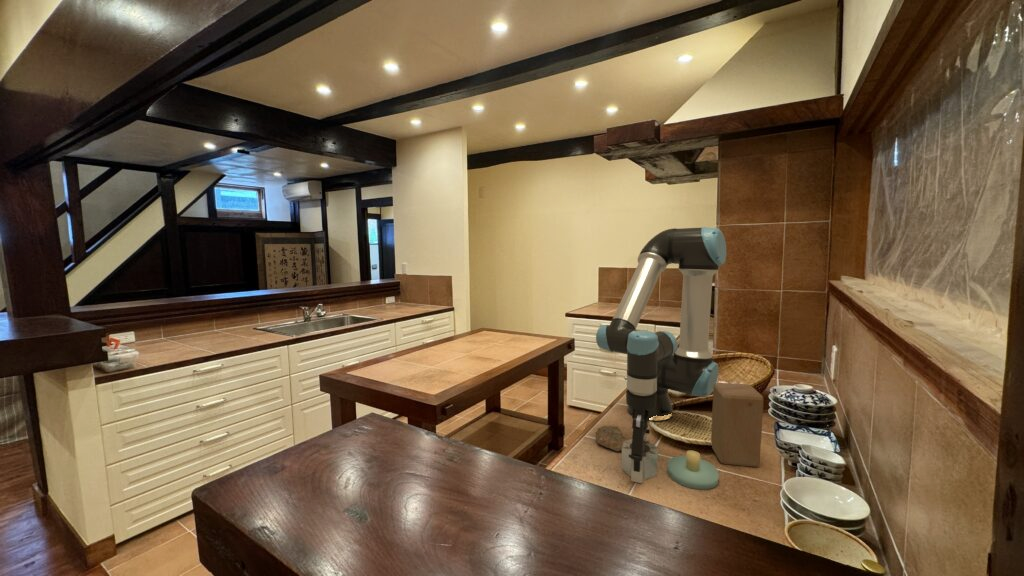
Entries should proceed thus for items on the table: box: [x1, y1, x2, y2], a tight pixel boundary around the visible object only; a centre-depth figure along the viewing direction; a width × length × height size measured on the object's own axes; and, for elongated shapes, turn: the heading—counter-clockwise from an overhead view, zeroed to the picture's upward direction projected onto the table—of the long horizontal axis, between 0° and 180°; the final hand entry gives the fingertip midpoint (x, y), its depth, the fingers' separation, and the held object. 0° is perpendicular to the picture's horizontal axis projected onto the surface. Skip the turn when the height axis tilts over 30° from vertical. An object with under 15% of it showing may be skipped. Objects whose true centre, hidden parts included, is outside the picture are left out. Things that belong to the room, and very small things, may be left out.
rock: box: [595, 425, 627, 452], centre depth 119 cm, size 9×6×10 cm
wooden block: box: [710, 382, 764, 468], centre depth 110 cm, size 10×10×20 cm
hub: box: [667, 450, 720, 491], centre depth 102 cm, size 12×12×6 cm
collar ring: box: [620, 439, 659, 480], centre depth 106 cm, size 9×9×6 cm
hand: (639, 468), depth 106 cm, fingers open, 12 cm apart
